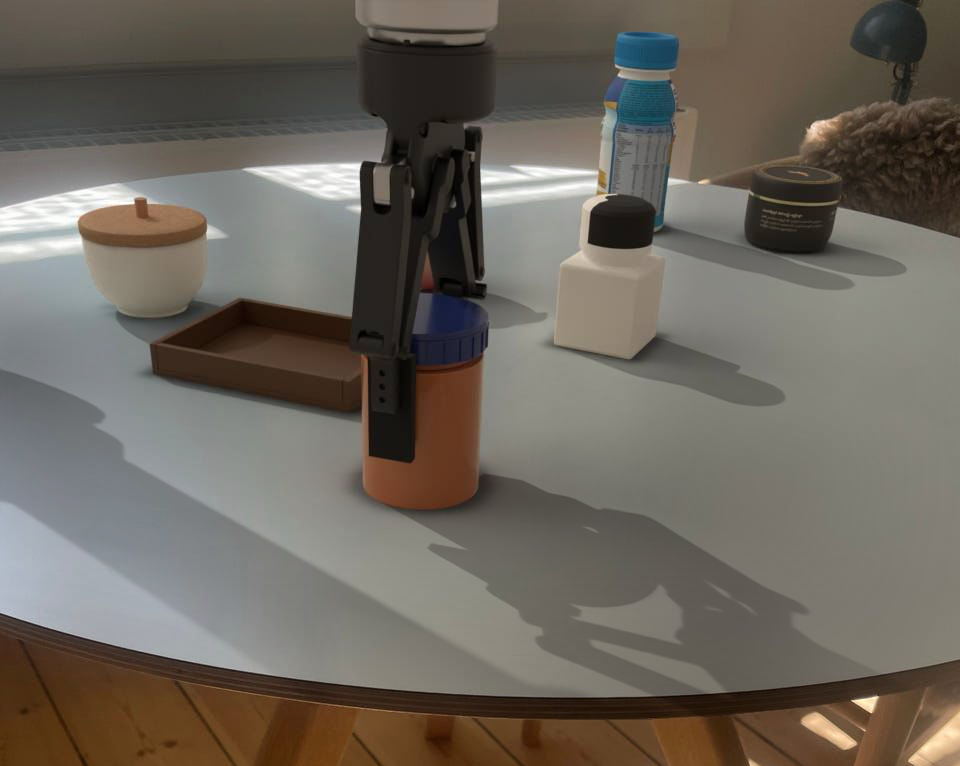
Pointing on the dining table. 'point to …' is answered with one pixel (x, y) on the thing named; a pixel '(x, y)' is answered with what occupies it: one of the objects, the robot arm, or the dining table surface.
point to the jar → (791, 208)
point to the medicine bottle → (611, 280)
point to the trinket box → (146, 256)
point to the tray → (266, 354)
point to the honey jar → (432, 440)
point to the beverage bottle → (640, 120)
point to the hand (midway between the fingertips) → (421, 425)
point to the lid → (448, 330)
